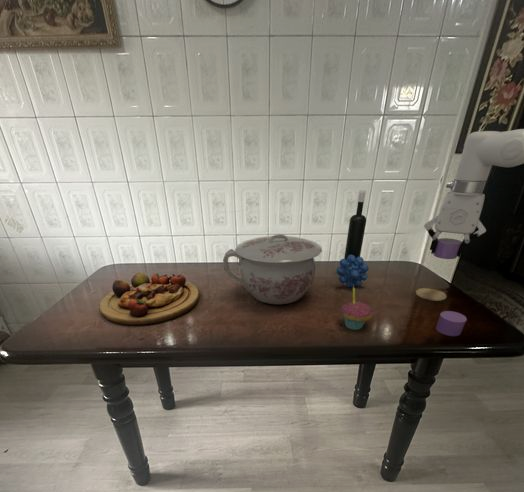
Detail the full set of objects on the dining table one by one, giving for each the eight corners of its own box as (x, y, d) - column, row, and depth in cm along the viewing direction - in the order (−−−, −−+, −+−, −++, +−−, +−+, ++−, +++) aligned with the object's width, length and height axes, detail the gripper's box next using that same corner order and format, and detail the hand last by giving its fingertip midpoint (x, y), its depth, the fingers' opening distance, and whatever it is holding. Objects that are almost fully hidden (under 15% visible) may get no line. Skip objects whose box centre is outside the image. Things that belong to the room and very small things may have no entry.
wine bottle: (358, 277, 117) (373, 191, 100) (343, 277, 118) (355, 191, 100) (355, 272, 122) (369, 189, 105) (340, 272, 122) (352, 189, 105)
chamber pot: (331, 291, 107) (338, 230, 95) (290, 323, 88) (293, 253, 77) (266, 275, 120) (266, 220, 108) (220, 300, 102) (213, 237, 90)
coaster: (446, 292, 105) (447, 291, 105) (445, 303, 98) (446, 302, 98) (417, 287, 109) (417, 286, 109) (414, 297, 102) (414, 296, 102)
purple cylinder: (456, 254, 92) (461, 239, 90) (456, 260, 88) (462, 245, 85) (433, 251, 95) (438, 237, 92) (432, 257, 90) (437, 242, 88)
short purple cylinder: (461, 327, 85) (466, 314, 83) (460, 338, 81) (467, 324, 78) (436, 322, 88) (441, 309, 85) (434, 332, 83) (439, 318, 81)
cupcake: (336, 329, 85) (342, 290, 78) (341, 316, 92) (347, 278, 85) (367, 335, 82) (376, 295, 76) (371, 321, 89) (379, 283, 82)
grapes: (337, 292, 106) (341, 259, 99) (332, 285, 111) (336, 252, 105) (369, 291, 106) (376, 258, 100) (363, 284, 112) (369, 251, 105)
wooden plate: (174, 332, 85) (168, 305, 81) (77, 321, 91) (67, 296, 87) (213, 287, 111) (211, 265, 106) (136, 281, 117) (130, 260, 112)
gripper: (431, 187, 82) (413, 253, 92) (507, 191, 75) (479, 261, 85) (432, 184, 87) (415, 247, 97) (504, 187, 80) (477, 254, 90)
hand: (445, 253), depth 91 cm, fingers closed on purple cylinder, 6 cm apart
